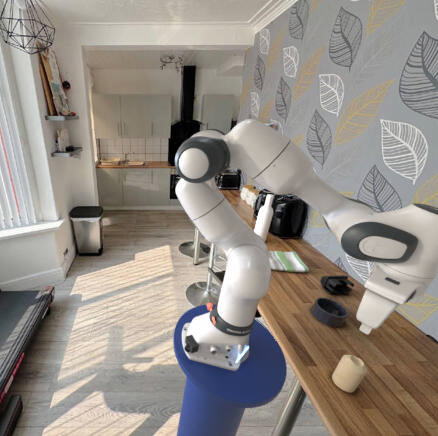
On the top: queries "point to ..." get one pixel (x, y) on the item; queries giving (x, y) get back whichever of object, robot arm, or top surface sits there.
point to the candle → (349, 373)
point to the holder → (329, 312)
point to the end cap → (336, 284)
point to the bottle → (264, 218)
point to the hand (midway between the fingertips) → (372, 323)
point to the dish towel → (286, 262)
